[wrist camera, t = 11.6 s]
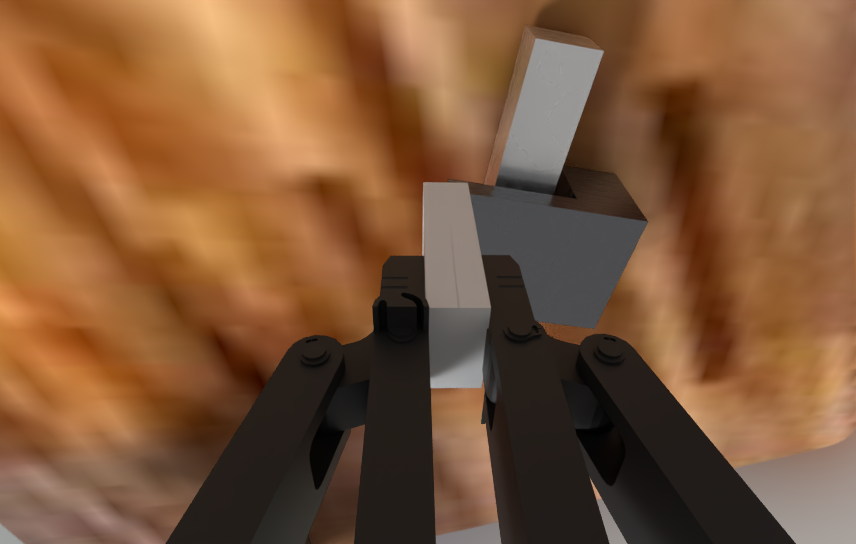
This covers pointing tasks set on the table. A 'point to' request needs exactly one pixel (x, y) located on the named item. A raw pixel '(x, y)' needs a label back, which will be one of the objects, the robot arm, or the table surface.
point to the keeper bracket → (562, 240)
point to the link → (542, 109)
